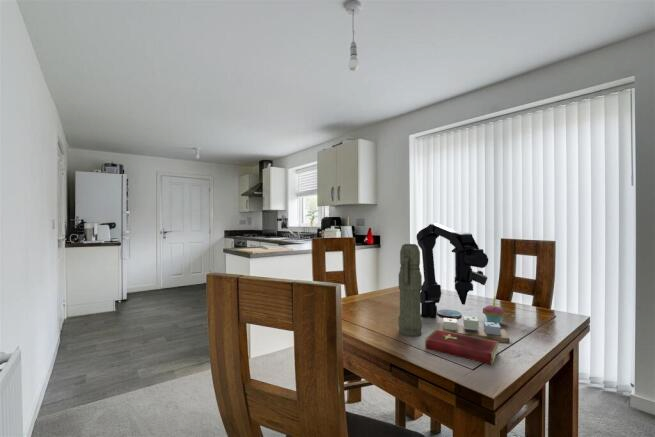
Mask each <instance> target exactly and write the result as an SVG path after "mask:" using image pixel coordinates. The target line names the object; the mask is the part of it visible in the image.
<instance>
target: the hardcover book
mask: <svg viewBox="0 0 655 437" xmlns="http://www.w3.org/2000/svg"><path fill="white" fill-rule="evenodd" d="M499 344H500V342H499V341H491V340H486V339H481V338H476V337H471V336H466V335H461V334H456V333H451V332H447V331H442V330H437V328H436V329H434V331H433V332H431V333H430V334H429V335H428V336H427V337H426V338H425V341H424V349H425V350H429V351H432V352H436V353H441V354H444V355H449V356H454V357H456V358H457V357H458V358H461V359H466V360H468V361H469V360H470V361H474V362H478V363H482V364H485V365H489V366H490V365H491V366H494V360H495V358H496V357H497V355H498V349H499V348H498V346H499Z"/></svg>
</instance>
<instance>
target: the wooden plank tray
mask: <svg viewBox="0 0 655 437" xmlns="http://www.w3.org/2000/svg"><path fill="white" fill-rule="evenodd" d="M436 329H437V330H442V331H447V332H451V333H456V334H461V335H466V336H471V337H476V338H481V339H486V340H491V341H496V342H499V343H500V342H501V343H510V340H511V339H510V337H509V334H508V333H507V332H506V329H503V328H502V329H501V335H494V334H486V333H485V330H484V326H483V327H482V326H480V327H479V329H473V328H464V324H457V330H448V329H444V322H437V324H436Z"/></svg>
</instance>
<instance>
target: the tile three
mask: <svg viewBox="0 0 655 437" xmlns="http://www.w3.org/2000/svg"><path fill="white" fill-rule="evenodd" d="M483 327H484V330H485V333H486V334H494V335H501V328H502V327H501V325H500V323H492V322H488V321H484V322H483Z"/></svg>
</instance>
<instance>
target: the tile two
mask: <svg viewBox="0 0 655 437" xmlns="http://www.w3.org/2000/svg"><path fill="white" fill-rule="evenodd" d="M462 325H464V328H473V329H479V325H480V324H479V319H478V317H477V316H476V317H475V316H466V315H465V316H464V315H463V324H462Z"/></svg>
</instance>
